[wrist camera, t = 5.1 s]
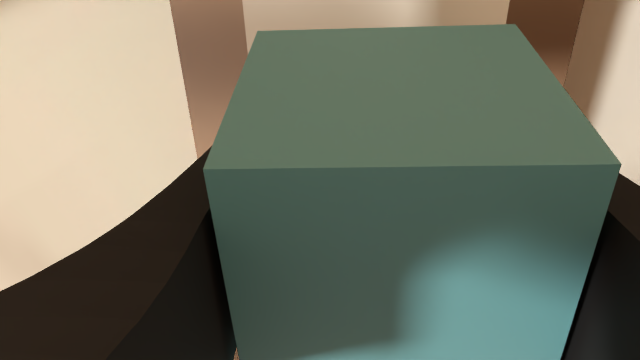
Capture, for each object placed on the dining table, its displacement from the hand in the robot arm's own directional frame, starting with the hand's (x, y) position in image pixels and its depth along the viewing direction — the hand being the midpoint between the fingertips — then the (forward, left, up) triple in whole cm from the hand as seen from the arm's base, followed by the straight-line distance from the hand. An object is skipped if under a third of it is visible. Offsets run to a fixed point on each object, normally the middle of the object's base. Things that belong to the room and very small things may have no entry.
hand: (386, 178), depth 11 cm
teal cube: (0, 0, -2) cm, 2 cm away
